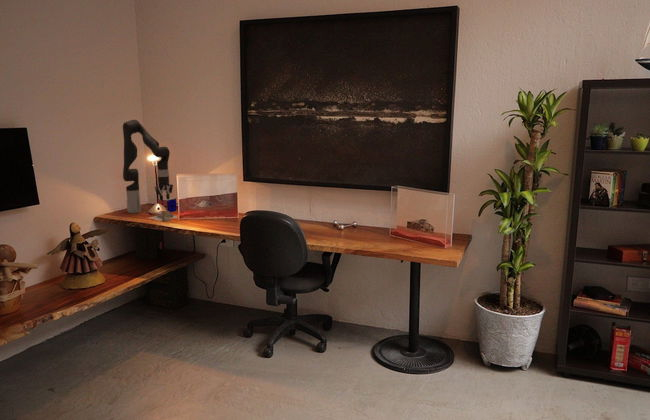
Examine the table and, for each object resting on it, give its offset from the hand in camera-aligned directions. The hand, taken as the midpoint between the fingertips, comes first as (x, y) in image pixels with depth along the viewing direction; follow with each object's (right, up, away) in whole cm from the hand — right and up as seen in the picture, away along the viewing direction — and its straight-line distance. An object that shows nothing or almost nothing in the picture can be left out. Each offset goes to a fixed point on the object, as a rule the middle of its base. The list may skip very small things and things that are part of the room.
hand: (164, 199), depth 365 cm
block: (0, -15, +3) cm, 15 cm away
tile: (-8, -11, +16) cm, 21 cm away
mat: (-5, -13, +14) cm, 19 cm away
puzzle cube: (-9, -9, +36) cm, 38 cm away
